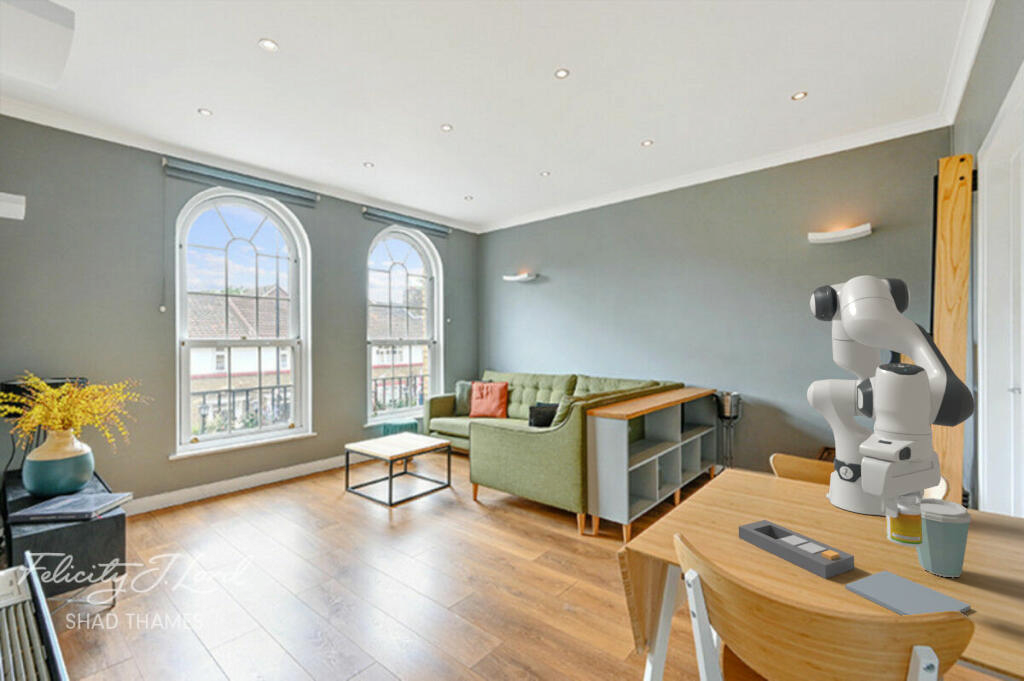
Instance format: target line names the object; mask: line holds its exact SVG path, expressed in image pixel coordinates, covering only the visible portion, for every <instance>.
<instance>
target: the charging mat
mask: <svg viewBox="0 0 1024 681" xmlns="http://www.w3.org/2000/svg"><path fill="white" fill-rule="evenodd" d="M845 590H847V591H850V592H852V593H855V594H856V595H858V596H859V597H863V598H865V599H867V600H869V601H870V602H873V603H875V604H877V605H879V606H881V607H883V608H886V609H888V610H889V611H891V612H894V613H896V614H898V615H900V616H902V615H913V614H923V613H934V612H944V611H960V612H963V613H966V612H967V611H970V610H971V604H969V603H966V602H964V601H962V600H959V599H957V598H954V597H952V596H949V595H947V594H944V593H942V592H940V591H937V590H934V589H932V588H930V587H927V586H924V585H922V584H920V583H917V582H915V581H912V580H910V579H907V578H906V577H903V576H902V575H901V576H900V575H898V574H896V573H893V572H890V571H889V570H887V569H885V570H882V571H879V572H877V573H874V574H872V575H868V576H866V577H862V578H860V579H858V580H855V581H854V580H853V581H852V582H849V583H847V584H845ZM969 609H970V610H969ZM963 613H962V614H963Z"/></svg>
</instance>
